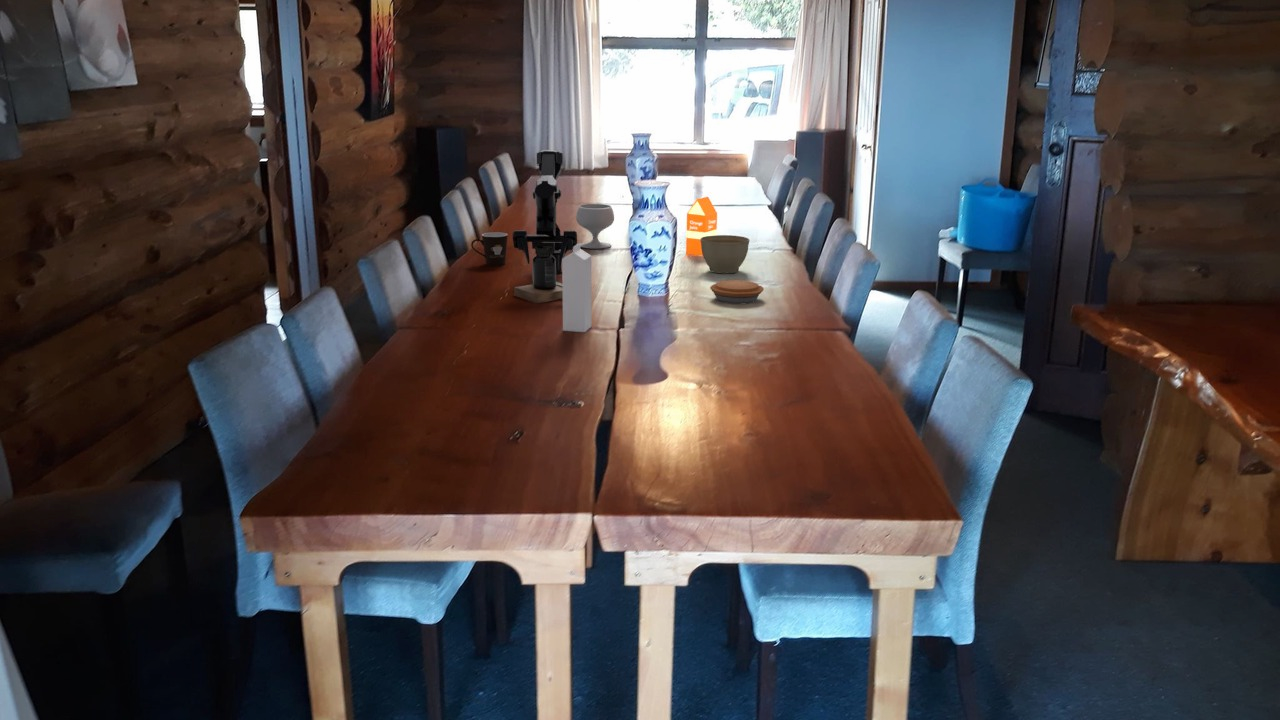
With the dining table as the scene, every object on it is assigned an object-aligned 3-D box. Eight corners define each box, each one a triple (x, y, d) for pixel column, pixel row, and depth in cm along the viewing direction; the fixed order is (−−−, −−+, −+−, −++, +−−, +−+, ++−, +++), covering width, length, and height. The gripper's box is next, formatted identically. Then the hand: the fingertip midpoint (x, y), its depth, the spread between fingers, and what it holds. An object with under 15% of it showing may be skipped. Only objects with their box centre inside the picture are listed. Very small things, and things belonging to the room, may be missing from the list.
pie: (699, 299, 299) (699, 282, 298) (731, 291, 310) (732, 275, 309) (741, 308, 289) (741, 291, 288) (773, 299, 300) (774, 283, 298)
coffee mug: (510, 261, 349) (510, 232, 346) (505, 266, 341) (504, 237, 338) (477, 260, 350) (476, 231, 347) (471, 265, 342) (470, 236, 339)
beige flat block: (553, 289, 309) (553, 280, 308) (576, 296, 300) (576, 287, 299) (514, 295, 301) (513, 286, 300) (536, 303, 292) (536, 293, 291)
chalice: (592, 241, 388) (592, 202, 384) (621, 246, 381) (621, 205, 376) (568, 247, 377) (568, 206, 373) (598, 251, 370) (598, 210, 365)
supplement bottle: (556, 285, 303) (556, 245, 300) (555, 290, 297) (555, 249, 293) (533, 285, 303) (532, 245, 300) (532, 290, 296) (531, 249, 293)
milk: (562, 331, 263) (561, 246, 257) (570, 325, 269) (568, 242, 262) (585, 332, 262) (584, 247, 255) (592, 326, 267) (591, 243, 261)
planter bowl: (748, 267, 345) (749, 235, 342) (748, 277, 330) (749, 243, 327) (700, 265, 347) (701, 233, 344) (698, 275, 331) (699, 242, 328)
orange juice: (716, 252, 370) (718, 197, 364) (704, 256, 363) (706, 200, 357) (697, 250, 374) (698, 195, 368) (685, 254, 367) (686, 198, 361)
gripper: (577, 235, 311) (577, 278, 304) (516, 235, 310) (514, 278, 303) (577, 213, 301) (576, 257, 294) (513, 213, 301) (511, 257, 293)
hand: (544, 263), depth 296 cm, fingers open, 9 cm apart
